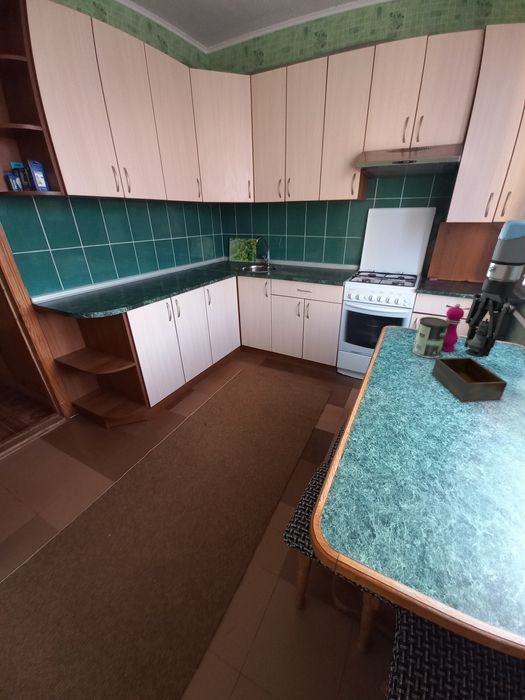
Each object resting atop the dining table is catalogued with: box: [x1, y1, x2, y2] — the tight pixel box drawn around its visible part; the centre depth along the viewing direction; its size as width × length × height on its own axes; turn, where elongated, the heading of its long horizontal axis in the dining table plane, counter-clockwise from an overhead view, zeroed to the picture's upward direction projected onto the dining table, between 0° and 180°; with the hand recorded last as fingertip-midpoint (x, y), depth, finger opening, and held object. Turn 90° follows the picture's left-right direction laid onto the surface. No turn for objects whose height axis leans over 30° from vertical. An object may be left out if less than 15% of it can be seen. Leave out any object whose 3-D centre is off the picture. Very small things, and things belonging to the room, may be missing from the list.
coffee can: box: [412, 316, 449, 359], centre depth 118 cm, size 10×10×14 cm
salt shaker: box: [464, 318, 489, 358], centre depth 91 cm, size 6×6×12 cm
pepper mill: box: [441, 303, 465, 353], centre depth 120 cm, size 7×7×20 cm
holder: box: [431, 356, 508, 403], centre depth 98 cm, size 13×17×7 cm
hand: (475, 350), depth 93 cm, fingers closed on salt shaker, 6 cm apart
